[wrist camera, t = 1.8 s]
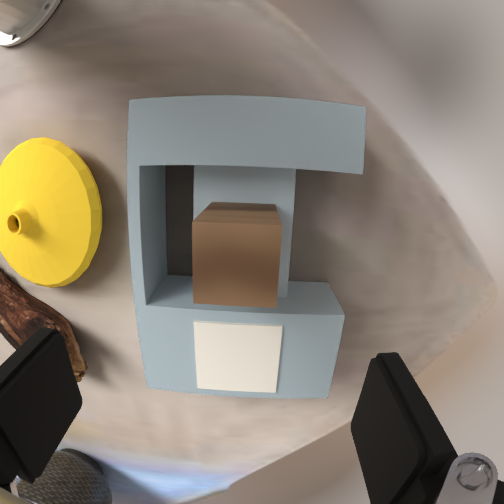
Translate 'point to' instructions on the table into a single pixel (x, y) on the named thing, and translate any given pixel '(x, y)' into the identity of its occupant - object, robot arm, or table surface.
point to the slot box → (241, 191)
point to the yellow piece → (48, 212)
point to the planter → (67, 481)
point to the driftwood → (34, 322)
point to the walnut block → (236, 254)
